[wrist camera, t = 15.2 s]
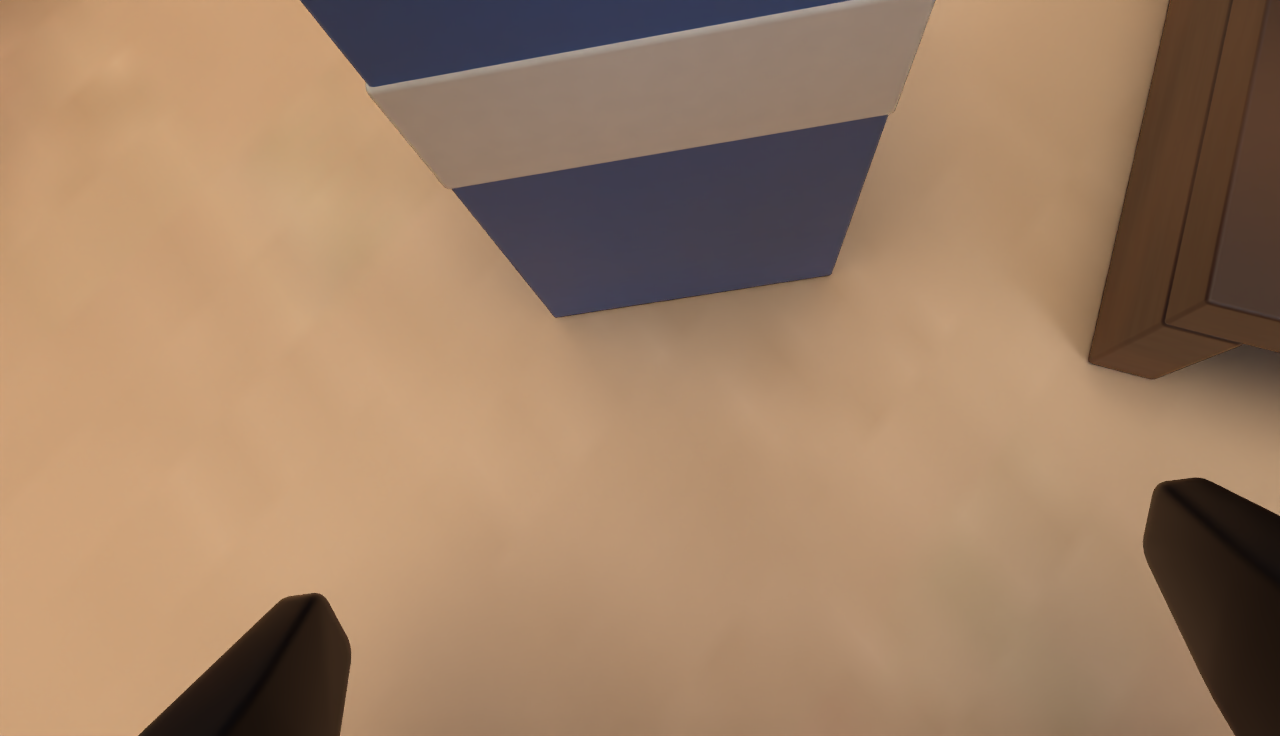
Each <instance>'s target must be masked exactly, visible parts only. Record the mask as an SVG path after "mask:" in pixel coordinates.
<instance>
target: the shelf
mask: <svg viewBox="0 0 1280 736" xmlns="http://www.w3.org/2000/svg"><path fill="white" fill-rule="evenodd" d="M1242 344H1247V345H1251V346H1255V347H1259V348H1263V349H1267V350H1271V351H1275V352H1279V353H1280V0H1170V4H1169V8H1168V13H1167V17H1166V21H1165V26H1164V30H1163V35H1162V39H1161V43H1160V48H1159V52H1158V57H1157V61H1156V65H1155V70H1154V74H1153V79H1152V83H1151V87H1150V92H1149V96H1148V101H1147V105H1146V110H1145V114H1144V118H1143V123H1142V127H1141V132H1140V136H1139V140H1138V145H1137V149H1136V154H1135V158H1134V162H1133V167H1132V171H1131V176H1130V180H1129V184H1128V189H1127V193H1126V198H1125V202H1124V206H1123V211H1122V215H1121V220H1120V224H1119V228H1118V233H1117V237H1116V242H1115V246H1114V250H1113V255H1112V259H1111V264H1110V268H1109V272H1108V277H1107V281H1106V286H1105V290H1104V295H1103V299H1102V303H1101V308H1100V312H1099V317H1098V321H1097V325H1096V330H1095V334H1094V339H1093V343H1092V347H1091V352H1090V356H1089V362H1091V363H1092V364H1096V365H1100V366H1104V367H1107V368H1111V369H1115V370H1119V371H1122V372H1126V373H1130V374H1134V375H1138V376H1141V377H1145V378H1149V379H1156V378H1159V377H1161V376H1164V375H1166V374H1169V373H1171V372H1174V371H1177V370H1179V369H1182V368H1184V367H1187V366H1189V365H1192V364H1195V363H1197V362H1200V361H1202V360H1205V359H1207V358H1210V357H1213V356H1215V355H1218V354H1220V353H1223V352H1225V351H1228V350H1231V349H1233V348H1236V347H1238V346H1241V345H1242Z"/></svg>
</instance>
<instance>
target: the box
mask: <svg viewBox="0 0 1280 736" xmlns="http://www.w3.org/2000/svg"><path fill="white" fill-rule="evenodd" d="M300 1H301V2H302V3H303V4H304V6H305V7H306V8H307V9H308V11H309V12H310V13H311V14H312V16H313V17H314V18H315V19H316V21H317V22H318V23H319V24H320V26H321V27H322V28H323V29H324V31H325V32H326V33H327V34H328V36H329V37H330V38H331V39H332V41H333V42H334V43H335V44H336V46H337V47H338V48H339V49H340V51H341V52H342V53H343V54H344V56H345V57H346V58H347V59H348V61H349V62H350V63H351V64H352V65H353V67H354V68H355V69H356V70H357V72H358V73H359V74H360V75H361V77H362V78H363V79H364V80H365V82H366V91H367V93H368V94H369V96H370V97H371V98H372V99H373V101H374V102H375V103H376V104H377V105H378V107H379V108H380V109H381V110H382V112H383V113H384V114H385V115H386V116H387V118H388V119H389V120H390V121H391V123H392V124H393V125H394V126H395V127H396V129H397V130H398V131H399V132H400V134H401V135H402V136H403V137H404V138H405V140H406V141H407V142H408V143H409V145H410V146H411V147H412V148H413V149H414V151H415V152H416V153H417V154H418V156H419V157H420V158H421V159H422V160H423V162H424V163H425V164H426V165H427V167H428V168H429V169H430V170H431V171H432V173H433V174H434V175H435V176H436V177H437V179H438V180H439V181H440V182H441V184H442V185H443V186H444V187H445V188H448V189H452V190H453V191H454V193H455V194H456V195H457V196H458V197H459V199H460V200H461V201H462V202H463V204H464V205H465V206H466V207H467V209H468V210H469V211H470V212H471V214H472V215H473V216H474V217H475V219H476V220H477V221H478V222H479V224H480V225H481V226H482V227H483V229H484V230H485V231H486V232H487V234H488V235H489V236H490V237H491V239H492V240H493V241H494V242H495V244H496V245H497V246H498V247H499V249H500V250H501V251H502V252H503V254H504V255H505V256H506V257H507V259H508V260H509V261H510V262H511V263H512V265H513V266H514V267H515V268H516V270H517V271H518V272H519V273H520V275H521V276H522V277H523V278H524V280H525V281H526V282H527V283H528V285H529V286H530V287H531V288H532V290H533V291H534V292H535V293H536V295H537V296H538V297H539V298H540V300H541V301H542V302H543V303H544V305H545V306H546V307H547V308H548V310H549V311H550V312H551V313H552V315H553V316H554V317H561V316H568V315H574V314H581V313H587V312H594V311H600V310H607V309H613V308H620V307H626V306H632V305H639V304H645V303H652V302H658V301H665V300H671V299H678V298H684V297H691V296H697V295H704V294H710V293H716V292H723V291H729V290H736V289H742V288H749V287H755V286H762V285H768V284H775V283H781V282H788V281H794V280H800V279H807V278H813V277H820V276H826V275H830V274H832V271H833V268H834V265H835V263H836V260H837V257H838V254H839V251H840V249H841V246H842V243H843V240H844V237H845V235H846V232H847V229H848V226H849V223H850V221H851V218H852V215H853V212H854V209H855V207H856V204H857V201H858V198H859V195H860V193H861V190H862V187H863V184H864V181H865V179H866V176H867V173H868V170H869V167H870V165H871V162H872V159H873V156H874V153H875V151H876V148H877V145H878V142H879V139H880V137H881V134H882V131H883V128H884V125H885V123H886V120H887V117H888V114H891V113H893V112H894V111H895V109H896V106H897V103H898V100H899V98H900V95H901V92H902V90H903V87H904V84H905V81H906V79H907V76H908V73H909V71H910V68H911V65H912V62H913V60H914V57H915V54H916V52H917V49H918V46H919V43H920V41H921V38H922V35H923V33H924V30H925V27H926V24H927V22H928V19H929V16H930V14H931V11H932V8H933V5H934V3H935V0H300Z"/></svg>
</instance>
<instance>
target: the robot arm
mask: <svg viewBox="0 0 1280 736" xmlns="http://www.w3.org/2000/svg"><path fill="white" fill-rule="evenodd" d="M1143 548H1144V554H1145V557H1146V560H1147V563H1148V565H1149V567H1150V569H1151V571H1152V573H1153V575H1154V578H1155V580H1156V582H1157V584H1158V586H1159V588H1160V590H1161V592H1162V594H1163V596H1164V598H1165V601H1166V603H1167V605H1168V607H1169V609H1170V611H1171V613H1172V615H1173V617H1174V619H1175V621H1176V624H1177V626H1178V628H1179V630H1180V632H1181V634H1182V636H1183V638H1184V640H1185V642H1186V645H1187V647H1188V649H1189V651H1190V653H1191V655H1192V657H1193V659H1194V661H1195V663H1196V665H1197V668H1198V670H1199V672H1200V674H1201V676H1202V678H1203V680H1204V682H1205V684H1206V686H1207V688H1208V689H1209V691H1210V693H1211V695H1212V697H1213V699H1214V701H1215V702H1216V704H1217V706H1218V708H1219V709H1220V711H1221V713H1222V714H1223V716H1224V718H1225V720H1226V721H1227V723H1228V724H1229V726H1230V728H1231V729H1232V731H1233V733H1234V734H1235V736H1280V516H1279V515H1277V514H1275V513H1273V512H1271V511H1269V510H1267V509H1265V508H1263V507H1261V506H1259V505H1257V504H1255V503H1253V502H1251V501H1249V500H1247V499H1245V498H1243V497H1241V496H1239V495H1237V494H1235V493H1233V492H1231V491H1229V490H1227V489H1225V488H1223V487H1221V486H1219V485H1217V484H1215V483H1213V482H1211V481H1209V480H1206V479H1203V478H1188V479H1180V480H1172V481H1165V482H1162V483H1160V484H1158V485H1157V487H1156V488H1155V489H1154V492H1153V495H1152V499H1151V504H1150V509H1149V513H1148V518H1147V523H1146V528H1145V532H1144V538H1143ZM350 664H351V648H350V643H349V640H348V637H347V635H346V634H345V632H344V630H343V628H342V626H341V624H340V623H339V621H338V619H337V617H336V615H335V613H334V611H333V610H332V608H331V606H330V604H329V602H328V601H327V599H326V598H325V597H324V596H323V595H321V594H318V593H311V594H303V595H295V596H289V597H286V598H284V599H282V600H281V601H279V602H278V603H277V604H276V605H275V606H274V607H273V608H272V609H271V610H270V611H268V612H267V613H266V614H265V615H264V616H263V617H262V618H261V619H260V620H259V621H258V622H257V623H256V624H255V625H254V626H253V627H252V628H251V629H250V630H249V631H248V632H246V633H245V634H244V635H243V636H242V637H241V638H240V639H239V640H238V641H237V642H236V643H235V644H234V645H233V646H232V647H231V648H230V649H229V650H228V651H227V652H225V653H224V654H223V655H222V656H221V657H220V658H219V659H218V660H217V661H216V662H215V663H214V664H213V665H212V666H211V667H210V668H209V669H208V670H207V671H206V672H204V673H203V674H202V675H201V676H200V677H199V678H198V679H197V680H196V681H195V682H194V683H193V684H192V685H191V686H190V687H189V688H188V689H187V690H186V691H185V692H184V693H182V694H181V695H180V696H179V697H178V698H177V699H176V700H175V701H174V702H173V703H172V704H171V705H170V706H169V707H168V708H167V709H166V710H165V711H164V712H163V713H161V714H160V715H159V716H158V717H157V718H156V719H155V720H154V721H153V722H152V723H151V724H150V725H149V726H148V727H147V728H146V729H145V730H144V731H143V732H142V733H140V734H139V735H138V736H340V731H341V724H342V717H343V711H344V704H345V697H346V691H347V684H348V677H349V671H350Z"/></svg>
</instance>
